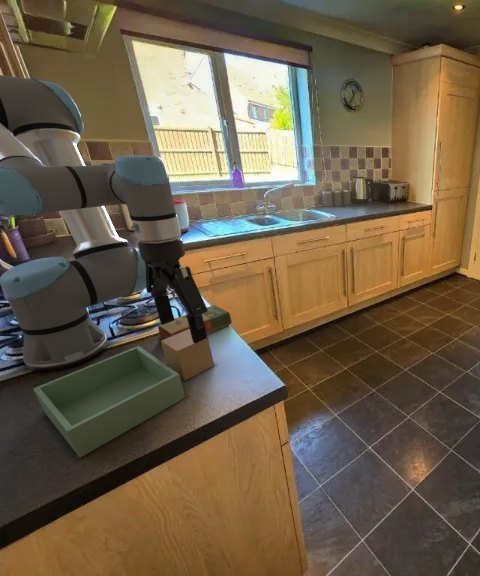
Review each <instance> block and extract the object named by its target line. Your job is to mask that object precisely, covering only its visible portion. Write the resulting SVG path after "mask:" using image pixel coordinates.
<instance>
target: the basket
mask: <svg viewBox="0 0 480 576" xmlns="http://www.w3.org/2000/svg"><path fill="white" fill-rule="evenodd" d="M182 383H183V382H182V378H180V376H179V374H178V373H177V372H175V371H174V370H172V369H171V368H169V367H168V364H167V365H166V363H164V362H162V361H161V360H159V359H158V358H157V357H155V356H154V355H152V354H151V353H150V352H148V351H147V350H145V349H144V348H142V347H141V346H139V345H137V346H134V347H131V348H129V349H126V350H124V351H121V352H120V353H117V354H115V355H113V356H110V357H107V358H104V359H103V360H100V361H98V362H95V363H93V364H90V365H88V366H85V367H83V368H80V369H78V370H75V371H73V372H70V373H68V374H65V375H64V376H61V377H58V378H56V379H53V380H51V381H48V382H46V383H44V384H41V385H38V386H36V387H33V388H32V389H33V392H34V394H35V396H36V398H37V399H38V402H39V404H40V405H41V407H42V410H43V412H44V414H45V415H46V417H48V419H49V420H50V421H51V422H52V424H53V425H54V427H55V428H56V429H57V431H58V432H59V433H60V434H61V436H62V437H63V438H64V439H65V441H66V443H68V444H69V446H70V447H71V449H72V450H73V451H74V452H75V454H76V455H77V457H79V458H82V457H84V456H86V455H88V454H89V453H91V452H93V451H95V450H96V449H98V448H100V447H101V446H103V445H105V444H106V443H109V442H110V441H112V440H113V439H116V438H117V437H119V436H121V435H123V434H124V433H126V432H127V431H130V430H131V429H133V428H135V427H136V426H138V425H140V424H141V423H143V422H145V421H147V420H149V419H150V418H152V417H153V416H156V415H157V414H159V413H161V412H162V411H164V410H166V409H168V408H170V407H171V406H173V405H175V404H177V403H179V402H180V401H182V400H183V399H185V398H186V394H185V391H184V387H183V384H182Z"/></svg>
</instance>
